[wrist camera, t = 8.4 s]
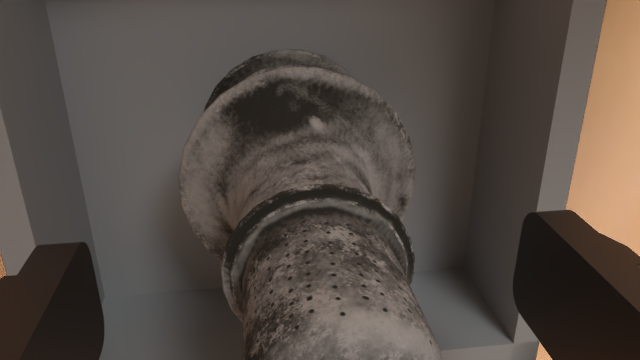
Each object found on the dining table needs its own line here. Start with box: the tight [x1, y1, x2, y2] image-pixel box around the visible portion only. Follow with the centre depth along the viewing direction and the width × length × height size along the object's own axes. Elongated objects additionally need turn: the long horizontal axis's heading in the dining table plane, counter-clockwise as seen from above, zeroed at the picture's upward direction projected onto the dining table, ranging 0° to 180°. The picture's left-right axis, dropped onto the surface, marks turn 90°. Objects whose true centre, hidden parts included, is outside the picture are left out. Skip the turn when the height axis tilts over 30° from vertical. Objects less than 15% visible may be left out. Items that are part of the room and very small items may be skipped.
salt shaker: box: [178, 50, 442, 360], centre depth 11 cm, size 6×6×12 cm
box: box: [0, 0, 607, 360], centre depth 15 cm, size 12×14×4 cm
